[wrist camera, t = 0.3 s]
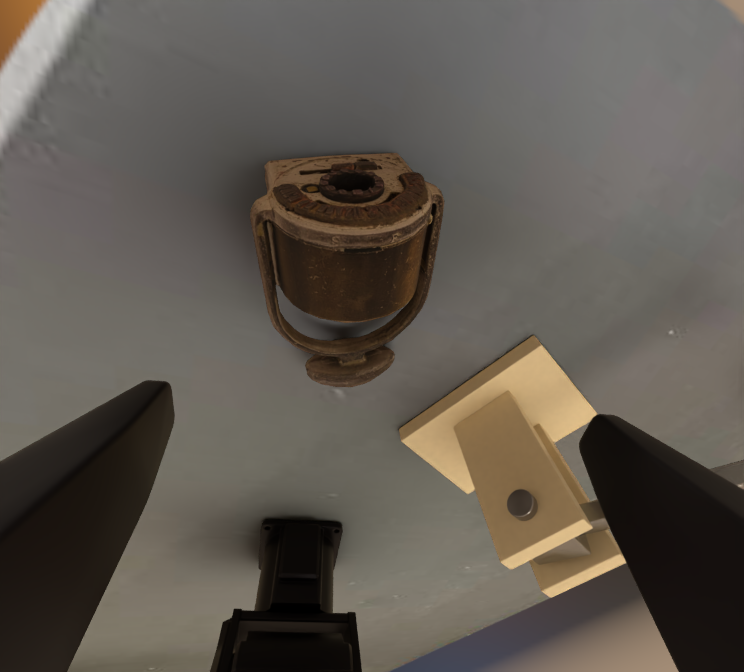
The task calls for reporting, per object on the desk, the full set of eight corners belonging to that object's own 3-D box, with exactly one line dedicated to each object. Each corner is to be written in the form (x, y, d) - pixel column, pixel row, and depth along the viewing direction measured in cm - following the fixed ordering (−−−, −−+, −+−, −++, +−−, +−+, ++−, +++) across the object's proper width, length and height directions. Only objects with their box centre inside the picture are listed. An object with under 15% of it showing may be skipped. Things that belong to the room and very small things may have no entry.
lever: (915, 349, 13) (995, 404, 11) (930, 440, 16) (997, 496, 14) (490, 488, 21) (497, 534, 19) (545, 534, 24) (556, 578, 22)
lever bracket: (533, 334, 25) (641, 464, 16) (589, 404, 28) (704, 544, 19) (398, 428, 28) (425, 580, 19) (463, 481, 31) (512, 631, 22)
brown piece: (544, 208, 15) (291, 94, 11) (415, 457, 20) (202, 446, 16) (455, 179, 21) (268, 98, 17) (371, 377, 26) (208, 353, 22)
